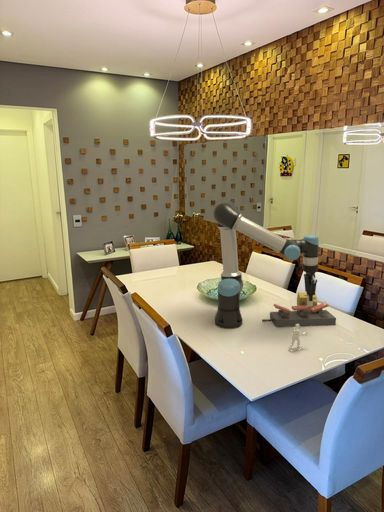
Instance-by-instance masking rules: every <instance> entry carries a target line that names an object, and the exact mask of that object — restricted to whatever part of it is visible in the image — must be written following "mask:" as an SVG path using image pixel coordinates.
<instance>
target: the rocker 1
mask: <svg viewBox="0 0 384 512" xmlns="http://www.w3.org/2000/svg"><path fill="white" fill-rule="evenodd" d="M273 306H274V308H275V309H277V310H281V311H282V312H284V311H285V312H288V313H291V311H292V310H291V309H289V308H287V307H285V306H281V305H279V304H276V303H273Z"/></svg>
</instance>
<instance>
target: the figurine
mask: <svg viewBox="0 0 384 512" xmlns="http://www.w3.org/2000/svg"><path fill="white" fill-rule="evenodd" d="M295 326H296V327H292V328H293V329H292V330H293V331H292V334H291V342H290V344H289V346H288V351H289V352H291V353H294V352H296V351H302V350H303V347H301V346H300V345H301V340H300V339H299V337H301V336H303V337H304V336H305V337H307V336H308V332H307V331H306V330H303V332H301V331H300V329H299V328H300V327H299V326H300V325H299V324H296V325H295ZM300 332H301V333H300ZM296 341H297V343H296V347H293V346H294V344H295V342H296Z"/></svg>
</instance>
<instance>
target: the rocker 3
mask: <svg viewBox="0 0 384 512" xmlns="http://www.w3.org/2000/svg"><path fill="white" fill-rule="evenodd" d="M328 307H329V304H328V303H327V302H326V301H324V302H322V303H319V304H317V306H314V307H312V308H310V310H311V311H312V312H316V311H318V310H320V311H322V310H324V309H325V308H328Z"/></svg>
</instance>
